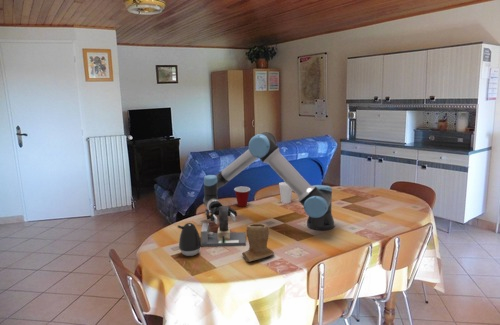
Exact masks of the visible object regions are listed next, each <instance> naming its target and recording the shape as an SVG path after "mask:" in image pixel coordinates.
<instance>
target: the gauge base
mask: <svg viewBox="0 0 500 325" xmlns="http://www.w3.org/2000/svg"><path fill="white" fill-rule="evenodd" d="M246 237H247V233H246V232H244V231H243V232H241V231H240V232H230V240H225V241H224V243H223V240H218V232H214V231H210V222H203V223H202V225H201V230H200V241H201V247H203V248H207V247H208V248H209V247H236V246H238V247H239V246H240V247H241V246H243V247H244V246H246V245H247V239H246ZM201 247H200V248H201Z"/></svg>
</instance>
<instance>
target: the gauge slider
mask: <svg viewBox="0 0 500 325" xmlns="http://www.w3.org/2000/svg"><path fill="white" fill-rule="evenodd" d="M228 207H229V206H227V205H223V206H220V207H219V215H218V220H219V221H218V223H219V224H218V225H219V227H217V233H218V240H223V243H224V241H225V240H230V233H231V227H230V226H229V216H228Z"/></svg>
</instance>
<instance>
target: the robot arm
mask: <svg viewBox="0 0 500 325" xmlns="http://www.w3.org/2000/svg"><path fill="white" fill-rule="evenodd" d="M277 143H278V141H277V138H276V136H275V135H274V134H272V133H271V132H267V131H264V132H262V133H258V134H255V135H254V136H252V137H251V138H250V140H249V142H248V149H247V150H246V151H244V152H243V153H242V154H241V155H239V156H238V157H237V158H235V160H233V162H230V164H229V165H227V166H226V167H225V168H224V169H222V170H221V171H220V172H219V173H218V174H207V175H205V176H204V177H203V192H204V197H203V200H202V201H203V204H204V206H205V207H206V208H205V210H204V212H205V215H206V220H207V221H208V220H210V222H213V223H215V224H216V225H219V224H218V223H219V221H218V217H219V207H220V206H224V205H223V204H222V202H221V201H219V199H218V194H219V193H218V190H219V189H220V188H222V187H224V186H225V185H227V184H228V183H229V182H230V181H232V180H233V179H234V178H235V177H236V176H238V175H239V174H240V173H242V172H243V171H244V170H245V169H246V168H247V167H249V166H250V165H252V164H253V163H254V162H255V161H257V160H258V159H259V160H260V161H261V162H262V163H263V164H267V165H268V166H270V167H271V169H272V170H273V171H274V172H275V173H276V174H277V175H278V177H280V178H281V179H282V181H283V182H285V183H286V184H287V185H288V186H289V187H290V188H291V189H292V192H293V193H295V195H297V197H298V203H300V205H302V206H303V209H304V213H305V214H306V215H307V216H308V217H307V221H306V226H307V227H308V228H309V229H312V230H314V231H315V230H316V231H329V230H332V229H334V228H335V220H334V218H333V214H332V204H333V203H332V199H333V197H332V194H333V191H332V190H333V188H332V187H331V186H330V185H322V184H315V185H312V184H310V183H309V182H308V181H307V180H306V179H305V178H304V177H303V176H302V175H301V173H300V172H299V171H298V170H297V169H296V168H295V167H294V166H293V165H292V164H291V163H290V161H289V160H287V158H285V157H284V156H283V155H282V153H281V151H280V146H278V145H277ZM227 207H228V217H230V219H231V221H233V222H234V223H235V222H236V217H237V216H238V215H237V214H238V212H237V210H235V209H233V208H232V207H231V206H227Z"/></svg>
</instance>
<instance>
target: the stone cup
mask: <svg viewBox="0 0 500 325" xmlns="http://www.w3.org/2000/svg"><path fill="white" fill-rule="evenodd" d="M269 232H270V231H269V226H268V225H267V224H265V223H251V224H248V225H246V237H247V241H248V245H249V248H248V250H245V251H243V252H241V253H242V256H243V258H244V260H245V261H246V262H250V263H251V262H253V261H258V260H262V259H265V258H268V257H270V256H273V255H274V254H275V252H274V250H272V249H271V248H269V247H268V246H267V245H268V240H269V236H270V235H269V234H270V233H269Z"/></svg>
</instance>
